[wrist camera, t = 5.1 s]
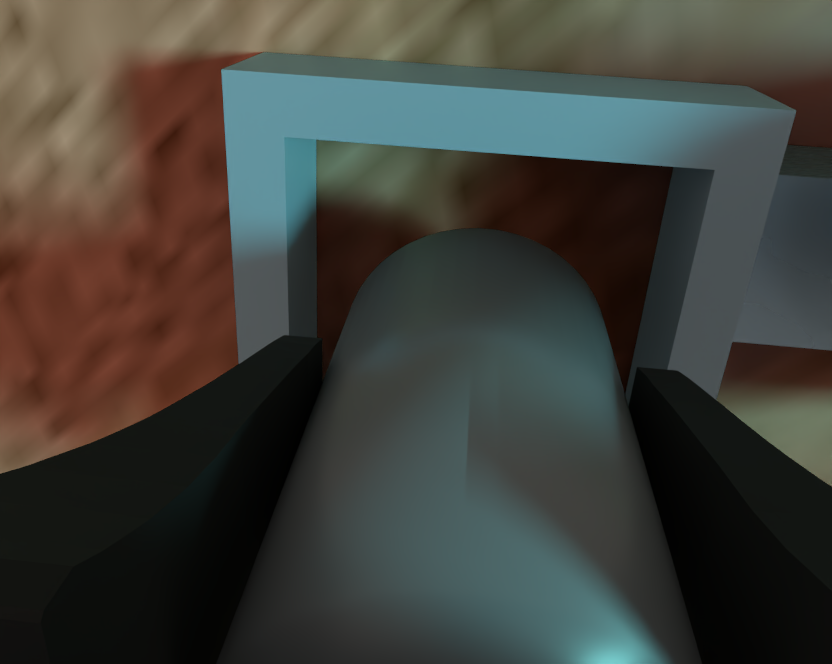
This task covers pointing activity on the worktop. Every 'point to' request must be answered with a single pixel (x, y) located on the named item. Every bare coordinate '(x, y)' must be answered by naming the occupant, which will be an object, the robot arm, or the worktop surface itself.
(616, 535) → the dark grey rounded cylinder
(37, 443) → the worktop surface
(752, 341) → the motor
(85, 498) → the robot arm
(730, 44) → the worktop surface
